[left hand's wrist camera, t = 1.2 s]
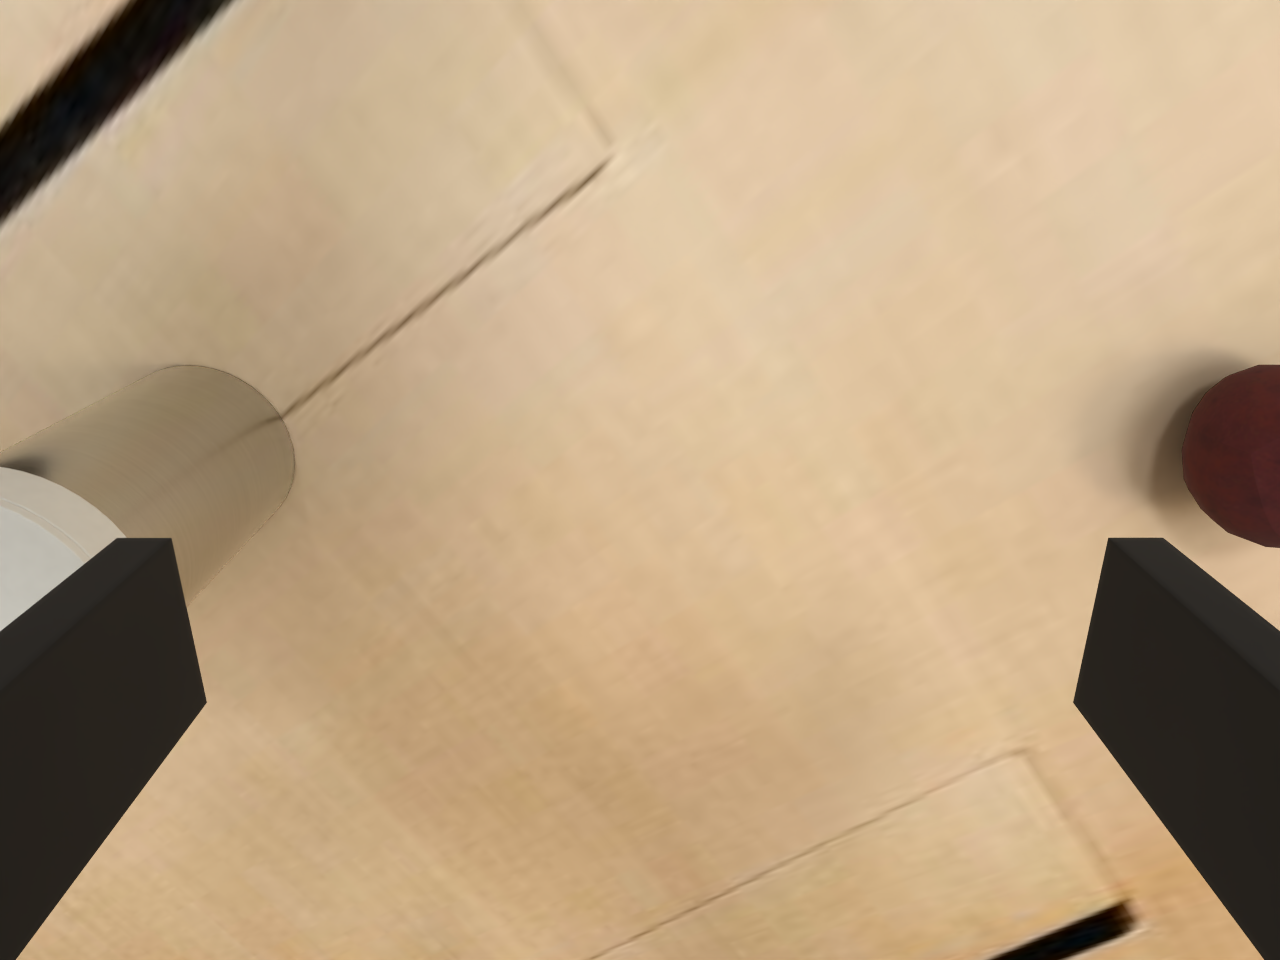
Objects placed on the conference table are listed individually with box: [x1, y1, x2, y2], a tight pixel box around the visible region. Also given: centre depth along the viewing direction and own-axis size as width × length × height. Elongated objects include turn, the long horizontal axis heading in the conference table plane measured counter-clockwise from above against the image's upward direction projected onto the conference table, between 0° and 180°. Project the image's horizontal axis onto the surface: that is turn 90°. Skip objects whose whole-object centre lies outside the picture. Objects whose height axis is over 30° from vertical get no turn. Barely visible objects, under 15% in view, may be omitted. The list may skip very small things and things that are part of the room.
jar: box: [0, 365, 295, 608], centre depth 35 cm, size 8×8×15 cm
